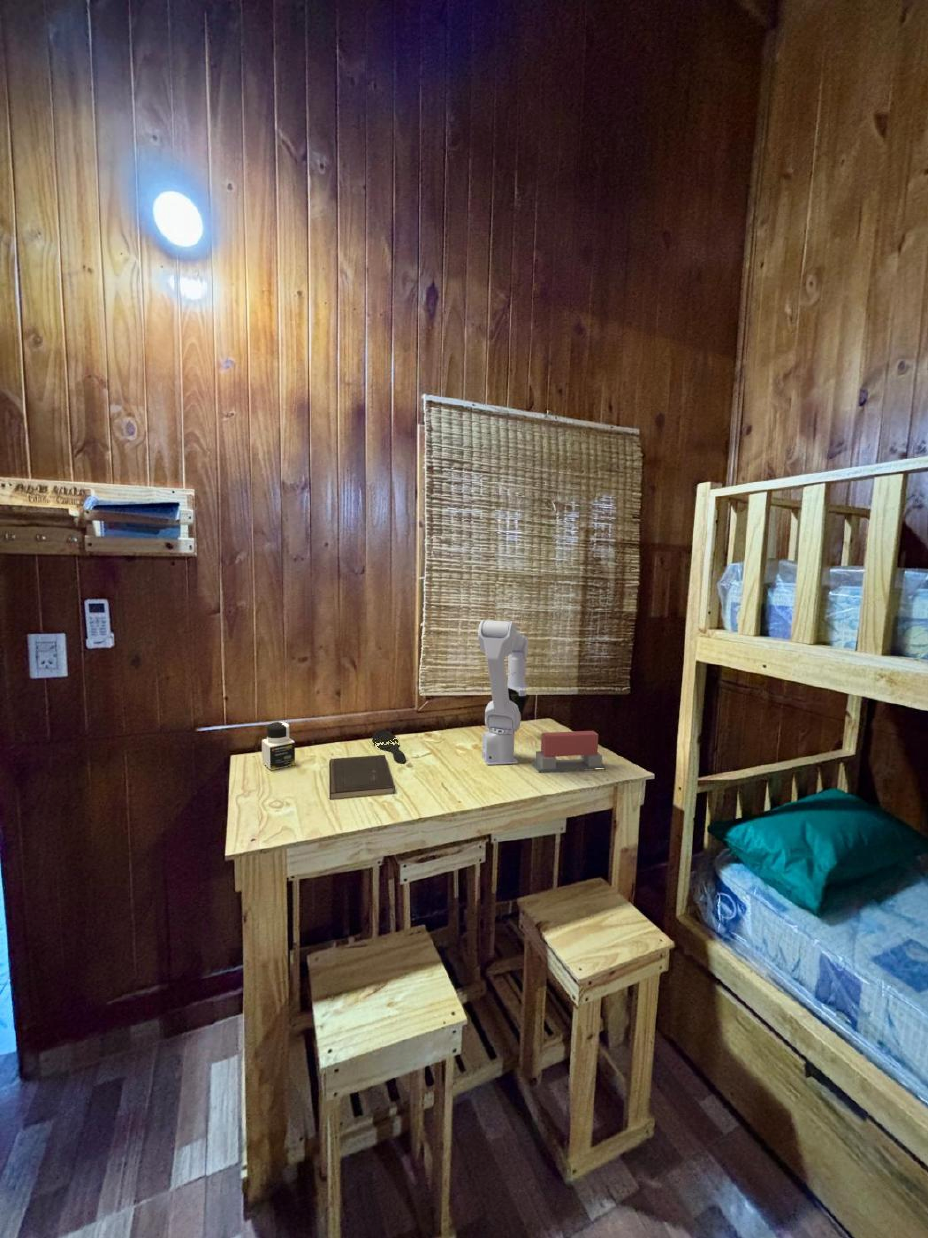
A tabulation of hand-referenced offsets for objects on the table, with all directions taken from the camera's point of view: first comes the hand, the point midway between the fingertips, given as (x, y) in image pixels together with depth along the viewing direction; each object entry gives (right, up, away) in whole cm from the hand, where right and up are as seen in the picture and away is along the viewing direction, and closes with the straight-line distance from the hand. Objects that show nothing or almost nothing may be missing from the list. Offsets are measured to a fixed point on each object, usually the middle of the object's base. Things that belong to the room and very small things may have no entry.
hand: (515, 712), depth 168 cm
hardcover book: (-45, -13, -29) cm, 56 cm away
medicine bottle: (-70, -11, -21) cm, 74 cm away
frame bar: (+14, -9, -19) cm, 25 cm away
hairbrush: (-40, -11, -7) cm, 42 cm away
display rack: (+14, -13, -19) cm, 26 cm away
